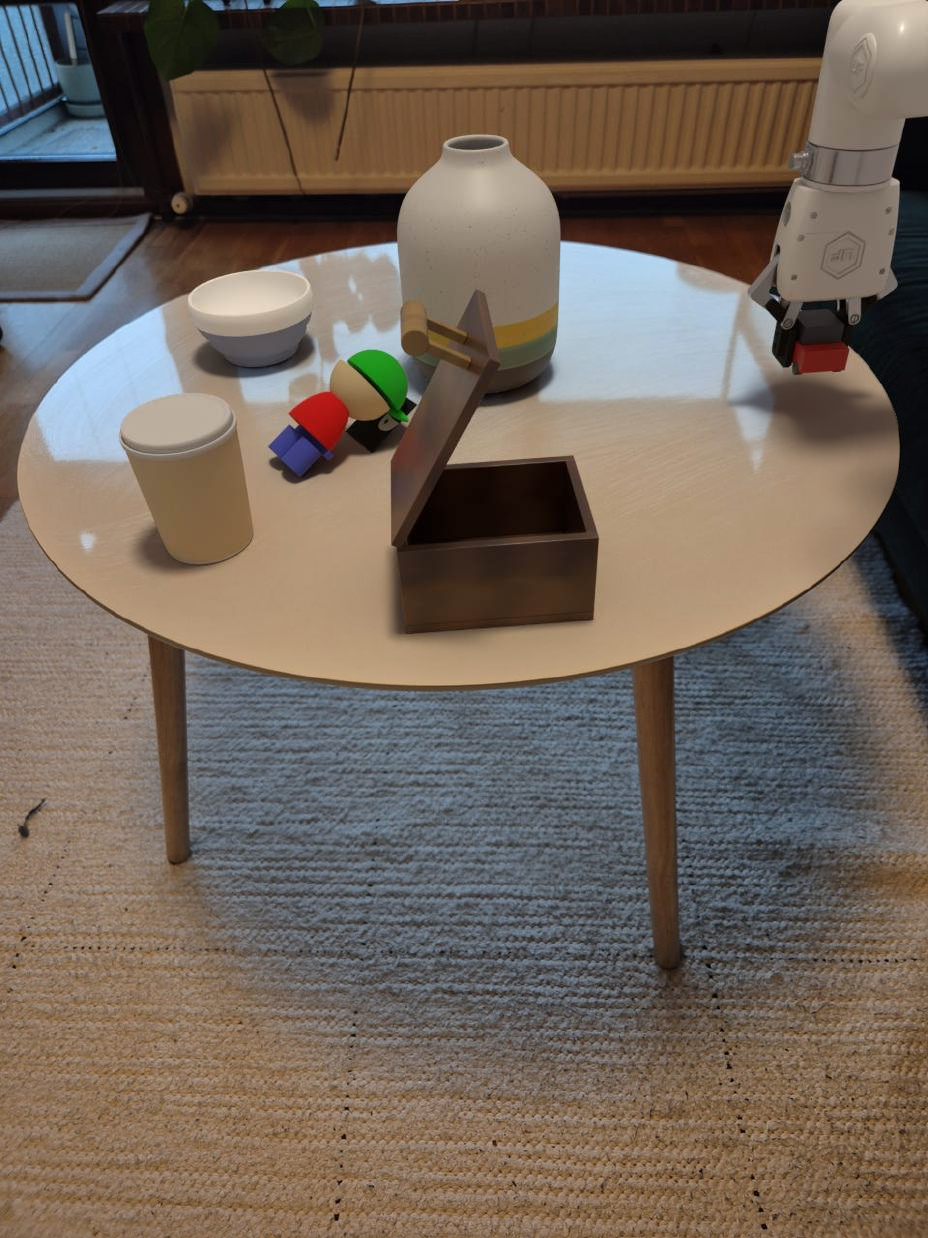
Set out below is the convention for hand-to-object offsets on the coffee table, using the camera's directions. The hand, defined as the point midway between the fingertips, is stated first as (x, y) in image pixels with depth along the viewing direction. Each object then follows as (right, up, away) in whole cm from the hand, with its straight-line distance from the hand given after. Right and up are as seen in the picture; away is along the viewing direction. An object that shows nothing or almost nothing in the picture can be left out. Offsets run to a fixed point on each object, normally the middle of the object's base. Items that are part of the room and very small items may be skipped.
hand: (807, 358), depth 90 cm
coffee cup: (-58, -19, -11) cm, 62 cm away
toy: (-47, -9, 0) cm, 48 cm away
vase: (-33, +2, +12) cm, 35 cm away
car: (0, 0, 0) cm, 0 cm away
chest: (-33, -23, -17) cm, 43 cm away
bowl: (-60, +6, +19) cm, 63 cm away
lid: (-36, -12, -27) cm, 47 cm away
